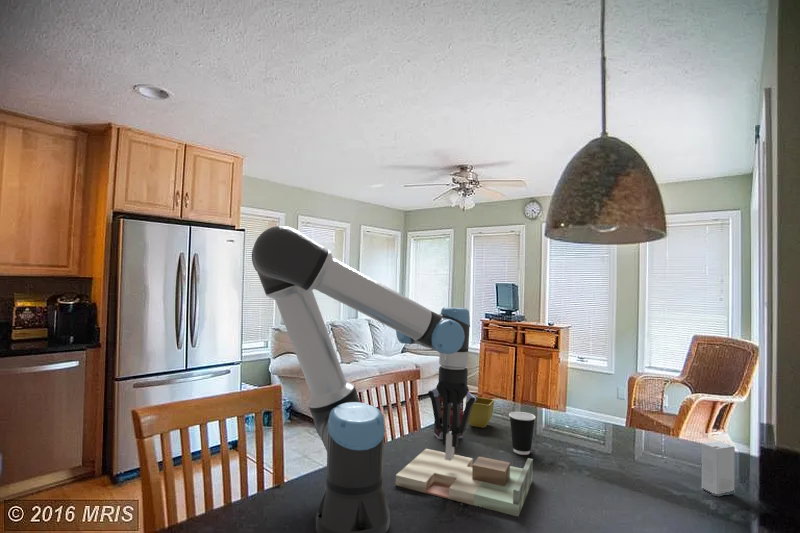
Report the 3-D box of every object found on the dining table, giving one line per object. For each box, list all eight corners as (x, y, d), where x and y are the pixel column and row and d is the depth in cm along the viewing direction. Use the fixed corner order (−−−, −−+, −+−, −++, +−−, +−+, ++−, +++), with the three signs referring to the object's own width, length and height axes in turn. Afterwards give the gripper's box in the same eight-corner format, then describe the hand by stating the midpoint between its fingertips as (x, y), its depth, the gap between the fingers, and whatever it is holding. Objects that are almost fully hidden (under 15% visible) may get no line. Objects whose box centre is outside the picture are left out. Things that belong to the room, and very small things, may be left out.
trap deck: (518, 516, 94) (518, 491, 94) (395, 485, 107) (396, 462, 107) (532, 480, 112) (532, 459, 112) (425, 457, 125) (426, 438, 125)
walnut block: (504, 486, 102) (505, 471, 103) (472, 479, 106) (472, 464, 106) (509, 476, 108) (510, 462, 108) (478, 470, 111) (478, 456, 111)
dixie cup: (503, 448, 134) (503, 412, 134) (524, 445, 137) (525, 410, 137) (518, 458, 126) (518, 420, 127) (540, 455, 129) (541, 418, 130)
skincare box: (717, 487, 111) (717, 440, 112) (736, 495, 107) (735, 446, 107) (700, 490, 109) (700, 441, 110) (717, 498, 105) (717, 448, 106)
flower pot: (494, 424, 158) (494, 399, 158) (488, 431, 150) (489, 404, 150) (470, 420, 161) (471, 396, 162) (464, 426, 153) (465, 401, 154)
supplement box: (438, 440, 139) (439, 390, 140) (433, 434, 144) (434, 387, 145) (463, 438, 142) (464, 389, 142) (457, 433, 146) (458, 386, 147)
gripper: (481, 367, 113) (478, 459, 112) (435, 361, 118) (431, 448, 117) (473, 372, 106) (469, 469, 105) (424, 365, 112) (420, 457, 111)
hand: (449, 458), depth 111 cm, fingers closed
